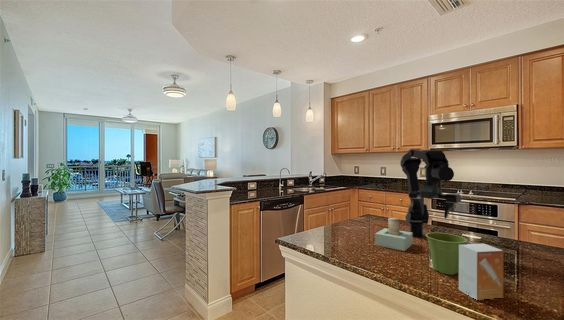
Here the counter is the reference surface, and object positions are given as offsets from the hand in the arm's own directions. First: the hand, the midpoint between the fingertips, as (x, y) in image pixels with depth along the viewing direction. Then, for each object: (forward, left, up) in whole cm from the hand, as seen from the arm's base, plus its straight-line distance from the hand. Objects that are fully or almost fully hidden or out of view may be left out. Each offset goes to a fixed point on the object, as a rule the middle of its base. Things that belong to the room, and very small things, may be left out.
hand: (433, 216), depth 112 cm
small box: (+36, +18, -13) cm, 42 cm away
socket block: (+7, -14, -13) cm, 20 cm away
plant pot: (+24, +8, -13) cm, 29 cm away
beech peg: (+7, -14, -12) cm, 20 cm away
